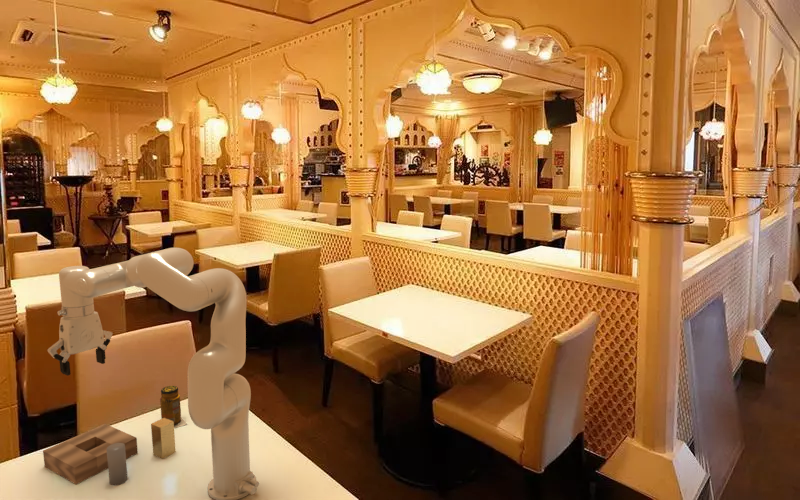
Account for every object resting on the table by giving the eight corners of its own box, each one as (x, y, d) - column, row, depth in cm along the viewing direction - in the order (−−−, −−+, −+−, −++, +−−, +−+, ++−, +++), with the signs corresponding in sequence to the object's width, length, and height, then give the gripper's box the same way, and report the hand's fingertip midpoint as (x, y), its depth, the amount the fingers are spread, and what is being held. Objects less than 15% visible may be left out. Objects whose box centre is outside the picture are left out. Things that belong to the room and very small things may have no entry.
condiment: (179, 415, 180) (177, 382, 178) (187, 424, 174) (185, 391, 172) (156, 421, 176) (154, 388, 174) (164, 431, 169) (161, 397, 167)
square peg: (175, 452, 158) (173, 421, 156) (162, 459, 154) (160, 427, 152) (166, 447, 160) (164, 417, 158) (153, 454, 156) (151, 423, 154)
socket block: (137, 452, 157) (136, 437, 156) (76, 484, 141) (74, 467, 140) (106, 438, 165) (105, 423, 164) (44, 466, 149) (42, 450, 148)
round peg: (131, 478, 144) (128, 445, 142) (115, 487, 140) (112, 453, 139) (121, 473, 146) (118, 441, 145) (106, 482, 143) (103, 448, 141)
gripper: (52, 320, 136) (59, 382, 139) (116, 305, 151) (121, 361, 154) (37, 316, 140) (44, 376, 143) (101, 301, 154) (106, 356, 157)
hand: (84, 368), depth 148 cm, fingers open, 9 cm apart
